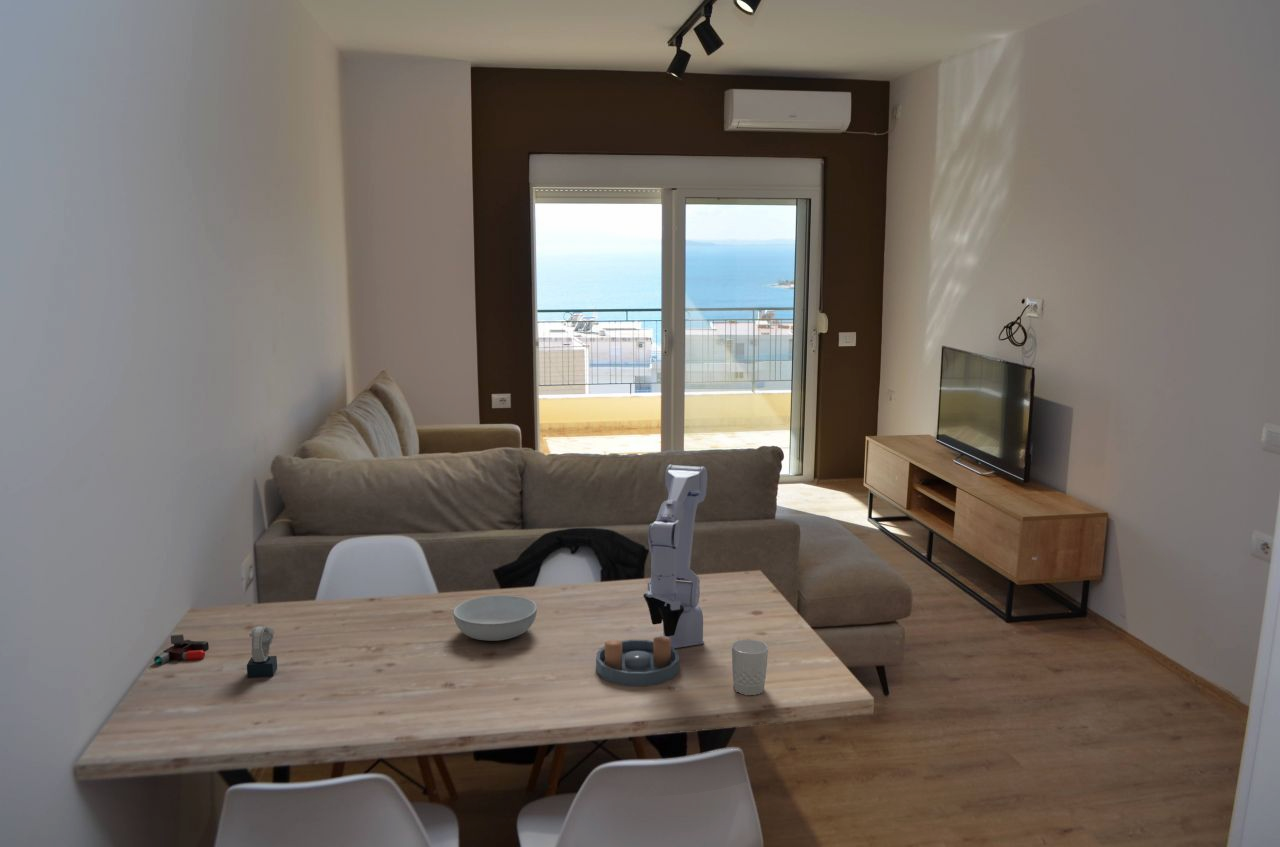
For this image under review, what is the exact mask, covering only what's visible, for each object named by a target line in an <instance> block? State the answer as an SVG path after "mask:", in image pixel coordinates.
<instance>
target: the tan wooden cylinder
mask: <svg viewBox="0 0 1280 847" xmlns="http://www.w3.org/2000/svg"><path fill="white" fill-rule="evenodd" d="M621 641H622V640H619V639H608V640H605V642H604V646H605V665H607V666H609V667H611V668H614V669H617V670H621V669H622V642H621Z"/></svg>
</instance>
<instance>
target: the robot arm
mask: <svg viewBox="0 0 1280 847" xmlns="http://www.w3.org/2000/svg"><path fill="white" fill-rule="evenodd" d="M664 476H665V477H664V483H665V484H664V485H665V487H666V490H667V494H668V496H667V500H664V501H663V502H662V503H661V505H660V508H659V509H658V512H657V515H656V518H655V521H653V522H651V523H650V524H649V525H648V526H649V527H648V531H647V533H648V534H647V541H648V543H647V544H648V546H649V550H648V551H649V554H650V559H651V561H650V564H651V565H650V581H647V590H648V591H646V592H645V593H644V594H643V598H644V600H645V602H646V604H647V607H648V611H649V617H650V619H651V620H650V621H651V624H652V625H661V624H662V625H663V627H662V628H663V629H662V630H663V632H662V634H659V635H657V636H656V637H658V636H666V637H669V638H670V639H671V647H673V648H674V649H678V648H679V649H680V648H685V647H692V646H693V647H694V646H698V645H704V644H705V641H704V615H703V611H702V609H701V607H700V605H699V603H700V602H699V601H700V595H701V594H700V593H701V592H700V589H701V588H700V584H701V583H700V582H701V581H700V577H699V576H698V574H696V573H695V571H693V570H692V569H691V560H692V551H693V543H694V542H693V541H694V532H695V522H696V514H697V510H698V505H699V504H700V503H702V502H704V501H705V499H706V496H707V490H708V489H707V487H708V470H707V467H706V466H704V465H702V466H694V465H680V464H679V465H678V464H677V465H676V464H671V463H670V464H669V465H668V466H667V467H666V469H665V474H664Z"/></svg>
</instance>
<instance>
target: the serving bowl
mask: <svg viewBox="0 0 1280 847" xmlns="http://www.w3.org/2000/svg"><path fill="white" fill-rule="evenodd" d="M537 612H538V605H537V604H536V602H534V601H533V600H531V599H529V598H526V597H524V596H518V595H511V594H508V595H507V594H496V595H484V596H479V597H476V598H470V599H468V600H465V601H463V602H461V603H459V604H458V605H456V606H455V608H454V609H453V614H452V615H453V619H454V622H455V624H456V625H455V626H456V627H457V628H458V629H459V631H460V632H461V633H463V634H464V635H466V636H467V637H470V638H471V639H474V640H479V641H489V642H492V641H496V642H497V641H505V640H509V639H512V638H515V637H518V636H520V635H523V634H524V633H525V632H527V631H528V630H530V628H531V627H532V625H533V624H534V622H535V620H536V618H537Z"/></svg>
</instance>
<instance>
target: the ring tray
mask: <svg viewBox="0 0 1280 847" xmlns="http://www.w3.org/2000/svg"><path fill="white" fill-rule="evenodd" d="M620 641H621V642H622V669H621V670H617V669H614V668H611V667H609V666H607V665H605V645H604V646H603V647H601V648H600V649H599V650H598V651H597V652H596V656H595V657H596V658H595V671H596V672H597V674H598V675H599V676H600V678H601V679H603V680H605V679H606V681H608V682H609V683H612V684H617V685H621V686H626V687H627V686H628V687H648V686H655V685H659V684H660V683H661V684H663V683H666V682H667V681H671V680H673V679H674V678H675V677H676V676H677V674H679V673H680V671H679V670H680V656H679V655H680V654H679V653H680V652H678V651H677V650H676V648H673V647H671V664H670V665H669V666H666V667H664V668H660V667H656V666H654V665H653V643H654V640H648V639H625V640H620ZM674 676H675V677H674ZM654 684H655V685H654Z"/></svg>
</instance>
